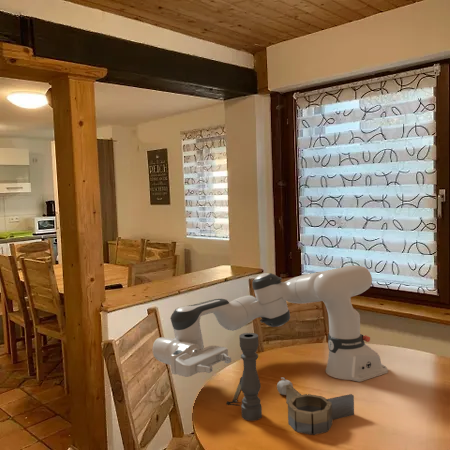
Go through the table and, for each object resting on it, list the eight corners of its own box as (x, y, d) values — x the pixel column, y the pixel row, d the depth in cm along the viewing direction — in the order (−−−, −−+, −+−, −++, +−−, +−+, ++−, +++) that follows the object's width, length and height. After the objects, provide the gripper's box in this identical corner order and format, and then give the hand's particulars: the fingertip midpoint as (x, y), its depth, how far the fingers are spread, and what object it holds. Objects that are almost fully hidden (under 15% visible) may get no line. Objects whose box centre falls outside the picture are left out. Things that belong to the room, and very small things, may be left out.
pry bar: (246, 409, 149) (246, 406, 149) (225, 406, 151) (226, 403, 151) (257, 381, 169) (257, 378, 169) (239, 378, 171) (239, 375, 171)
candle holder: (255, 422, 138) (252, 340, 136) (237, 417, 142) (234, 337, 140) (265, 413, 144) (262, 334, 142) (247, 409, 147) (244, 331, 145)
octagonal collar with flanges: (327, 394, 155) (327, 376, 154) (364, 423, 136) (364, 403, 135) (271, 406, 148) (270, 387, 148) (301, 437, 129) (300, 416, 129)
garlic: (275, 390, 160) (274, 375, 159) (290, 389, 160) (290, 374, 160) (278, 398, 154) (278, 382, 153) (295, 396, 154) (294, 381, 154)
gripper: (210, 356, 166) (241, 364, 157) (168, 375, 150) (199, 385, 141) (209, 338, 165) (240, 346, 157) (167, 356, 150) (198, 365, 141)
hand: (220, 365), depth 149 cm, fingers open, 8 cm apart
